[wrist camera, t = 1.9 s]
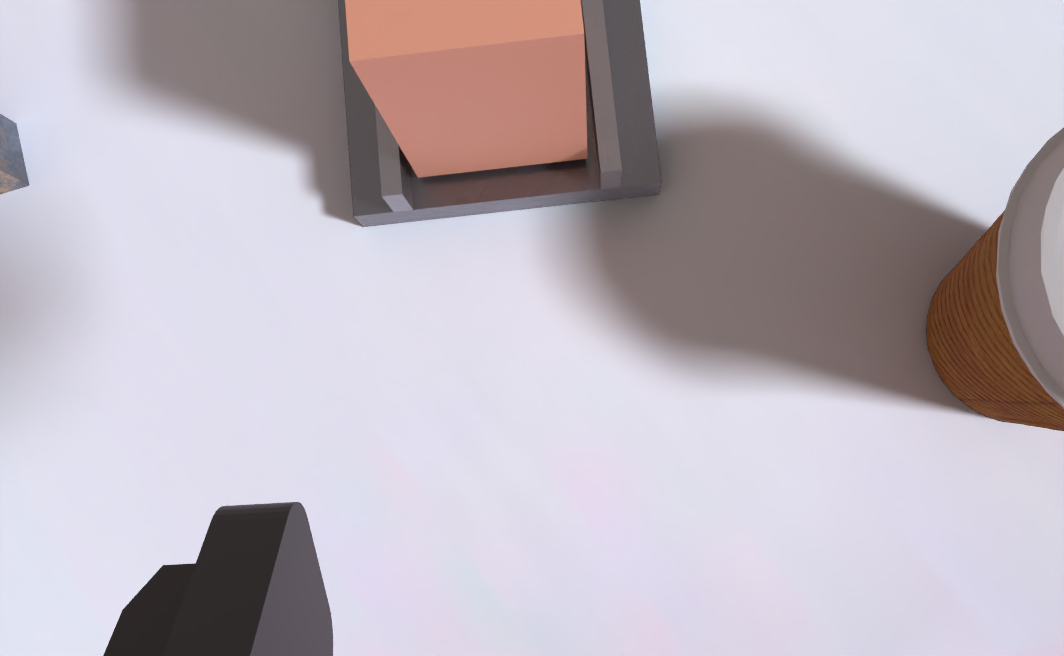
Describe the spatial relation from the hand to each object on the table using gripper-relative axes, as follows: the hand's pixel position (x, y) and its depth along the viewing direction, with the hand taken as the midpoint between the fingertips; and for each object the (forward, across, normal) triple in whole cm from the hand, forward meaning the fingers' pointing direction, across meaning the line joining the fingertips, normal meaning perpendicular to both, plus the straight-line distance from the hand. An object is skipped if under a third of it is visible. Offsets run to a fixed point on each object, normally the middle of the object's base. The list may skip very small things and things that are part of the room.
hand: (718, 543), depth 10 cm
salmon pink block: (+28, +3, +5) cm, 28 cm away
